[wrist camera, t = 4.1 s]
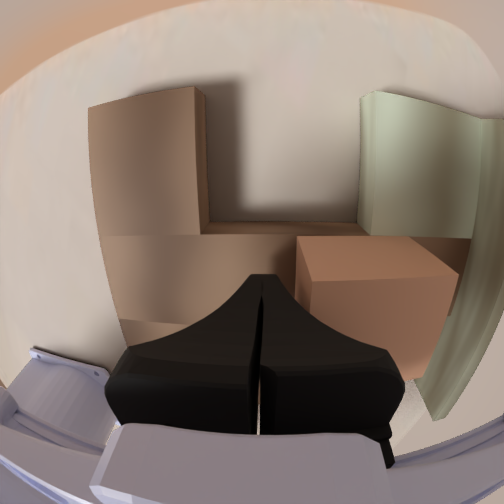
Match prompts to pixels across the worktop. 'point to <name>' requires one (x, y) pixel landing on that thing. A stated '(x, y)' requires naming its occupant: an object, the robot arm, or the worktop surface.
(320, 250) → the block
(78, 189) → the worktop surface
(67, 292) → the worktop surface
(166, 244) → the blocky structure
